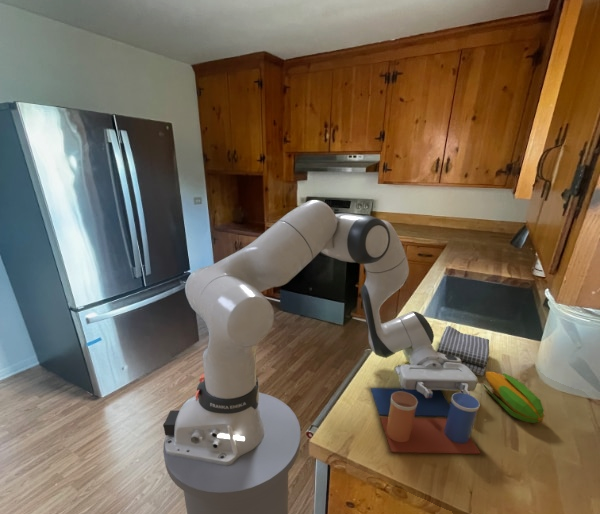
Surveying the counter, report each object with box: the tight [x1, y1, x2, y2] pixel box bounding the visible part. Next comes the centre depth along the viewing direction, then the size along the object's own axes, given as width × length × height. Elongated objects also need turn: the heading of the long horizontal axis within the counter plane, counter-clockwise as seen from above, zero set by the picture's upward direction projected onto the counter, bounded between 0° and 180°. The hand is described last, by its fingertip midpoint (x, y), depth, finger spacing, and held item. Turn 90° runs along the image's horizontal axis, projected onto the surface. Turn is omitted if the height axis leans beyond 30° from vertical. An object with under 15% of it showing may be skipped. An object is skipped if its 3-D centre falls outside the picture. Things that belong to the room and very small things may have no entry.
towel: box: [436, 325, 490, 377], centre depth 110 cm, size 15×18×8 cm
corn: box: [482, 371, 545, 424], centre depth 88 cm, size 7×8×20 cm
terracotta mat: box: [380, 416, 482, 455], centre depth 78 cm, size 20×11×1 cm, turn 90°
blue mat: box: [370, 387, 451, 418], centre depth 89 cm, size 20×11×1 cm, turn 90°
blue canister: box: [444, 392, 481, 443], centre depth 76 cm, size 6×6×10 cm
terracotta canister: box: [386, 391, 418, 442], centre depth 76 cm, size 6×6×10 cm
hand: (448, 396), depth 83 cm, fingers open, 8 cm apart
